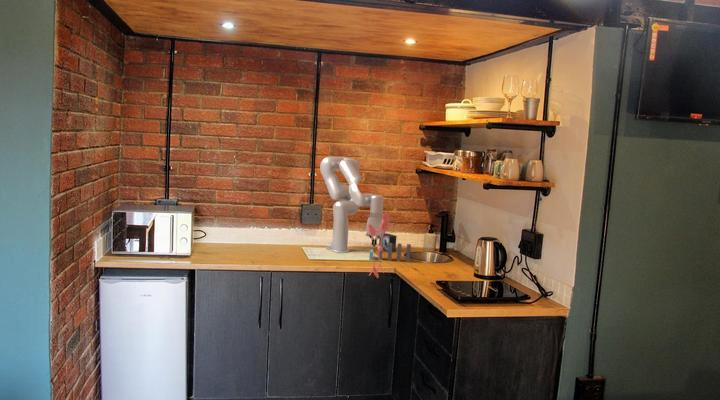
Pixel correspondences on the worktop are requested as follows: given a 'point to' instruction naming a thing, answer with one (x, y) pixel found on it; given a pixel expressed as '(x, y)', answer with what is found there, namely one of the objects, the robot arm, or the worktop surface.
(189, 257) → the worktop surface
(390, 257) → the domino
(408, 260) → the domino
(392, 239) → the small box
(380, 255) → the domino
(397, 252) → the domino
